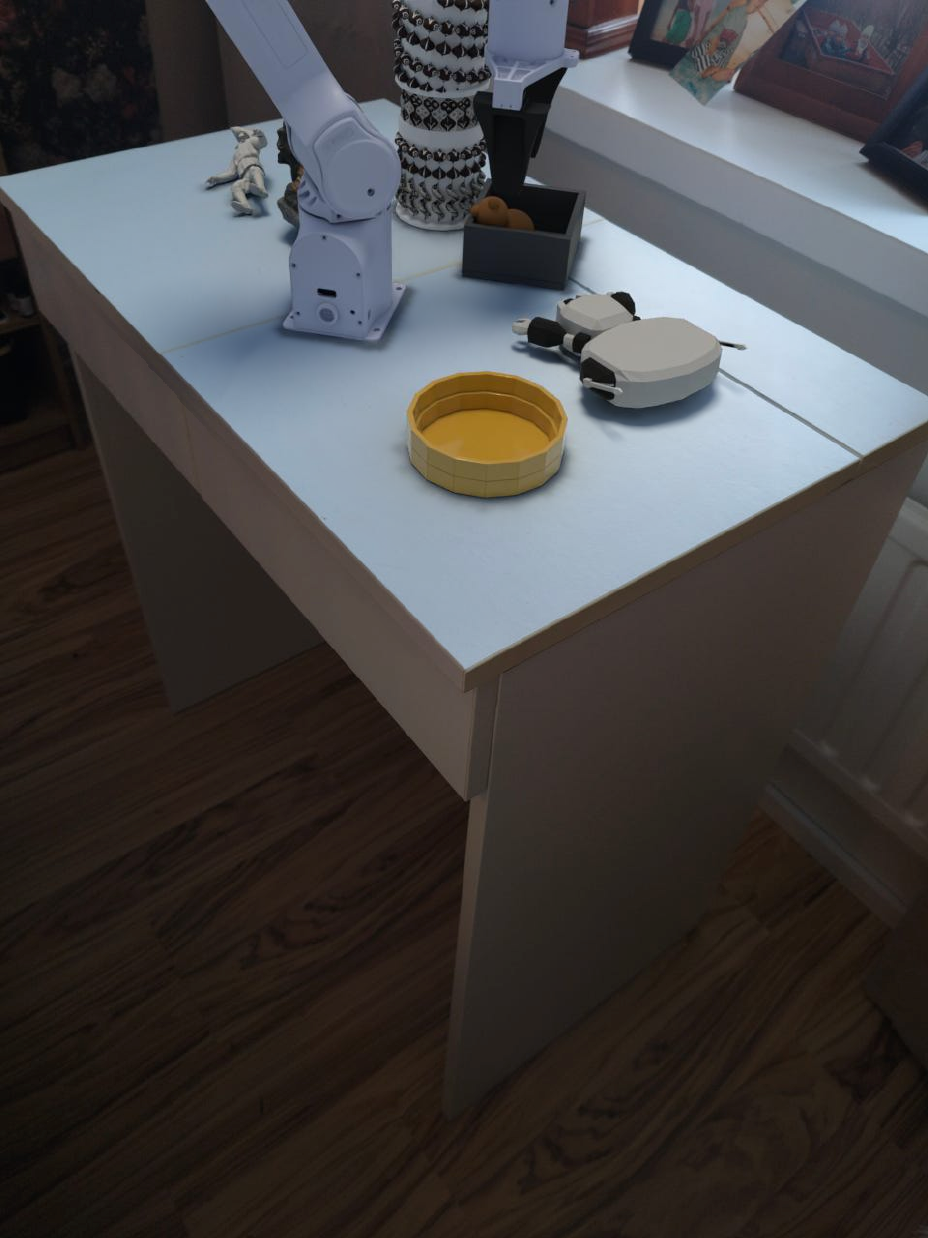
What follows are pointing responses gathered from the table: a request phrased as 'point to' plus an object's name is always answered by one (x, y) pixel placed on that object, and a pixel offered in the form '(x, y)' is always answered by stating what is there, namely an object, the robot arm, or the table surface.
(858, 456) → the table surface
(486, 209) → the teddy
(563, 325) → the robot toy
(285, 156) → the bison figurine
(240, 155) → the soldier figure
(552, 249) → the bin
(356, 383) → the table surface
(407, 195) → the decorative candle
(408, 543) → the table surface
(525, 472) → the bowl
